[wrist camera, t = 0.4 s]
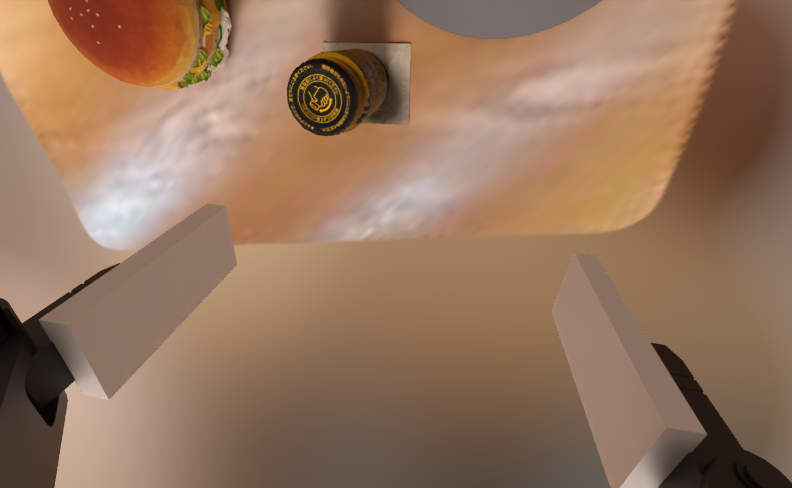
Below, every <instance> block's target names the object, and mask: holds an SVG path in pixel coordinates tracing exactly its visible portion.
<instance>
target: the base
mask: <svg viewBox="0 0 792 488" xmlns="http://www.w3.org/2000/svg"><path fill="white" fill-rule="evenodd" d="M397 1H399V2H400V3H401V4H402V5H403V6H404V7H405V8H406V9H408V10H409V11H411V12H412V13H414V14H415V15H417V16H418V17H420V18H421V19H423V20H424V21H426V22H428V23H430V24H432V25H434V26H436V27H438V28H440V29H443V30H445V31H448V32H452V33H455V34H458V35H462V36H467V37H474V38H482V39H506V38H513V37H519V36H525V35H530V34H533V33H537V32H540V31H543V30H546V29H550V28H552V27H555V26H557V25H559V24H561V23H564V22H566V21H568V20H570V19H573V18H575V17H576V16H578V15H580V14H581V13H583V12H585V11H586V10H588V9H590V8H591V7H593V6H595V5H596V4H598V3H599V2H601V1H602V0H397Z"/></svg>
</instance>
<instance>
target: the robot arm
mask: <svg viewBox="0 0 792 488" xmlns="http://www.w3.org/2000/svg"><path fill="white" fill-rule="evenodd" d="M236 265H237V262H236V256H235V252H234V246H233V241H232V236H231V230H230V225H229V220H228V215H227V210H226V206H220V205H213V204H206V205H205V206H203V207H202V208H200V209H199V210H198V211H196V212H195V213H193V214H192V215H190V216H189V217H187V218H186V219H184V220H183V221H182V222H180V223H179V224H177V225H176V226H174V227H173V228H171V229H170V230H168V231H167V232H166V233H164V234H163V235H161V236H160V237H158V238H157V239H155V240H154V241H152V242H151V243H150V244H148V245H147V246H145V247H144V248H142V249H141V250H139V251H138V252H136V253H135V254H133V255H132V256H131V257H129V258H128V259H126V260H125V261H123V262H122V263H119V264H116V265H114V266H111V267H109V268H107V269H104V270H102V271H100V272H98V273H97V274H95V275H94V276H92V277H91V278H89V279H88V280H86V281H85V283H84V284H80V285H79V286H77V287H76V288H74V289H73V290H72V292H71V293H69V292H68V293H67V294H65V295H64V296H62V297H61V298H59V299H58V300H56V301H55V302H53V303H52V304H50V305H49V306H47V307H46V308H44V309H43V310H41V311H40V312H39V313H37V314H36V315H34V316H32V317H31V318H29V319H28V320H27V321H25V322H24V323H21V322H20V320H19V318H18V317H17V315H16V314H15V312H14V311H13V309H12V307H11V306H10V304H9V303H8V302H7V301H6V300H4V299H2V298H0V488H54V486H55V479H56V473H57V467H58V460H59V454H60V447H61V441H62V435H63V428H64V422H65V415H66V408H67V402H68V400H67V395H66V393H65V391H64V390H65V389H66V388H67V387H68V386H69V385H70V384H71V383H73V382H74V381H75V382H76V384H77V385H78V387H79V389H80V391H81V392H82V394H83V395H85V396H91V397H96V398H102V399H107V400H109V399H110V398H111V397H112V396H113V395H114V394H115V393H116V392H117V391H118V390H119V389H120V388H121V387H122V386H123V385H124V384H125V382H126V381H127V380H128V379H129V378H130V377H131V376H132V375H133V374H134V373H135V372H136V371H137V369H139V368H140V367H141V366H142V365H143V363H144V362H145V361H146V360H147V359H148V358H149V357H150V356H151V355H152V354H153V353H154V352H155V351H156V350H157V349H158V348H159V347H160V346H161V344H162V343H163V342H164V341H165V340H166V339H167V338H168V337H169V336H170V335H171V334H172V333H173V332H174V330H176V329H177V328H178V326H179V325H180V324H181V323H182V322H183V321H184V320H185V319H186V318H187V317H188V316H189V315H190V314H191V313H192V312H193V311H194V309H196V307H197V306H198V305H199V304H200V303H201V302H202V301H203V300H204V299H205V298H206V297H207V296H208V295H209V294H210V293H211V292H212V290H214V289H215V287H216V286H217V285H218V284H219V283H220V282H221V281H222V280H223V279H224V278H225V277H226V276H227V275H228V273H230V272H231V271H232V270H233V268H234V267H235V266H236ZM551 311H552V315H553V318H554V321H555V324H556V327H557V330H558V333H559V336H560V339H561V342H562V345H563V347H564V350H565V353H566V357H567V360H568V362H569V365H570V368H571V371H572V374H573V377H574V380H575V383H576V386H577V389H578V392H579V395H580V398H581V401H582V404H583V407H584V410H585V413H586V416H587V419H588V422H589V425H590V428H591V431H592V434H593V437H594V440H595V443H596V446H597V449H598V452H599V455H600V458H601V461H602V464H603V467H604V470H605V472H606V475H607V478H608V482H609V484H610V488H792V483H791V482H790V481H789V480H788V479H787V478H786V477H785V476H784V475H783V474H782V473H781V472H780V471H779V470H778V469H777V468H775V467H774V466H772V465H771V464H770V463H768V462H767V461H766V460H764V459H762V458H761V457H759V456H757V455H755V454H753V453H751V452H748V451H745V450H743V448H742V447H741V445H740V444H739V443H738V441H737V439H736V438H735V437H734V435H733V434H732V432H731V431H730V429H729V428H728V426H727V425H726V423H725V422H724V420H723V419H722V418H721V416H720V415H719V413H718V412H717V410H716V409H715V407H714V406H713V404H712V403H711V402H710V400H709V399H708V397H707V396H706V395H704V394H703V390H702V388H701V387H700V385H699V384H698V383H697V381H696V380H694V377H693V375H692V374H691V372H690V371H689V369H688V368H687V366H686V365H685V364H684V362H683V361H682V360H681V359H680V358H679V357H678V356H677V355H676V354H674V353H673V352H672V351H671V350H670V349H669V348H668V347H667V346H665V345H661V344H654V343H650V341H649V340H648V338H647V336H646V335H645V333H644V332H643V330H642V329H641V327H640V325H639V324H638V322H637V320H636V319H635V317H634V316H633V314H632V312H631V311H630V309H629V308H628V306H627V304H626V303H625V301H624V299H623V298H622V296H621V295H620V293H619V291H618V290H617V288H616V287H615V285H614V283H613V282H612V280H611V279H610V277H609V275H608V274H607V272H606V271H605V269H604V267H603V266H602V264H601V262H600V261H599V259H598V258H597V256H596V255H589V254H581V253H574V254H573V256H572V259H571V262H570V264H569V267H568V270H567V272H566V274H565V277H564V280H563V282H562V285H561V287H560V290H559V293H558V295H557V298H556V300H555V303H554V305H553V308H552V310H551Z"/></svg>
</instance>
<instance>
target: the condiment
mask: <svg viewBox="0 0 792 488" xmlns="http://www.w3.org/2000/svg"><path fill="white" fill-rule="evenodd" d="M323 46H324V52H321V53H319V54H317V55H315V56H313V57H311V58H310V59H309V60H308V61H306V62H305V63H304V62H303V63H302V64H301V65H300V66H299V67H297V68H296V69H295V70H294V71H293V73H292V75H291V77H290V79H289V82H288V87H287V97H288V104H289V108H290V110H291V112H292V114H293V116H294V117H295V119H296V120H297V121H298V122H299V123H300V124H301V126H302V127H303V128H304V129H306V130H308V131H310V132H312V133H314V134H316V135H323V136H328V135H329V136H333V135H335V134H337V135H338V134H340V133H345V132H348V131H351V130H353V129H354V128H356V127H357V126H359V125H360V124H361V123H381V124H403V125H409V99H410V61H411V44H402V43H323ZM385 65H387V66H388V67H386V66H385ZM389 68H391V71H390V70H389ZM379 109H380V110H379Z"/></svg>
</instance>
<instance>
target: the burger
mask: <svg viewBox="0 0 792 488" xmlns="http://www.w3.org/2000/svg"><path fill="white" fill-rule="evenodd" d="M48 2H49V4H50V7H51V9H52V12H53V15H54V17H55V18H56V20H57V22H58V23H59V25H60V27H61V28H62V30H63V32H64V33H65V34H66V36H67V37H68V39H69V40H70V41H71V42H72V44H73V45H74V46H75V47H76V48H77V49H78V50H79V51H80V52H81V53H82V54H83V55H84V56H85V57H86V58H87V59H88V60H90V61H91V62H92V63H93V64H94V65H95V66H97V67H98V68H100V69H101V70H103V71H104V72H106V73H107V74H109V75H110V76H112V77H114V78H116V79H118V80H120V81H123V82H125V83H129V84H132V85H135V86H142V87H150V88H158V89H178V88H183V87H188V85H192V84H195V83H198V82H201V81H203V80H204V79H205V80H206V81H207V80H208V78H209V77H211V73H213V72H216V71H217V70H219V69H222V68H224V67H226V65H227V63H228V55H229V51H228V49H227V47H226V45H227V43H228V42H227V41H228V38H229V34H230V31H231V27H232V25H231V19H230V18H229V13H228V9H227V5H226V1H225V0H48Z"/></svg>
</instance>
